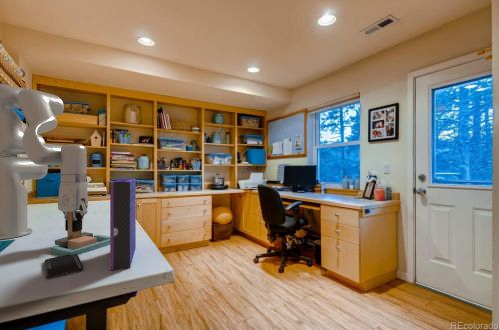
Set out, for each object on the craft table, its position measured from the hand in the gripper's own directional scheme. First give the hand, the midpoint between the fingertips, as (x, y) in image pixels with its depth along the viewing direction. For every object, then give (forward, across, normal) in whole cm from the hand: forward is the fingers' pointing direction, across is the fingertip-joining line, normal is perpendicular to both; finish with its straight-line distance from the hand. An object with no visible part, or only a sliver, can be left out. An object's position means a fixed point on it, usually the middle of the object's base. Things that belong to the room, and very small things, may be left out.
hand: (73, 229), depth 86 cm
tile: (+6, +6, 0) cm, 8 cm away
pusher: (+4, 0, 0) cm, 4 cm away
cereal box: (+5, +28, -2) cm, 28 cm away
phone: (+6, +17, -13) cm, 22 cm away
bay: (+5, +6, 0) cm, 8 cm away
